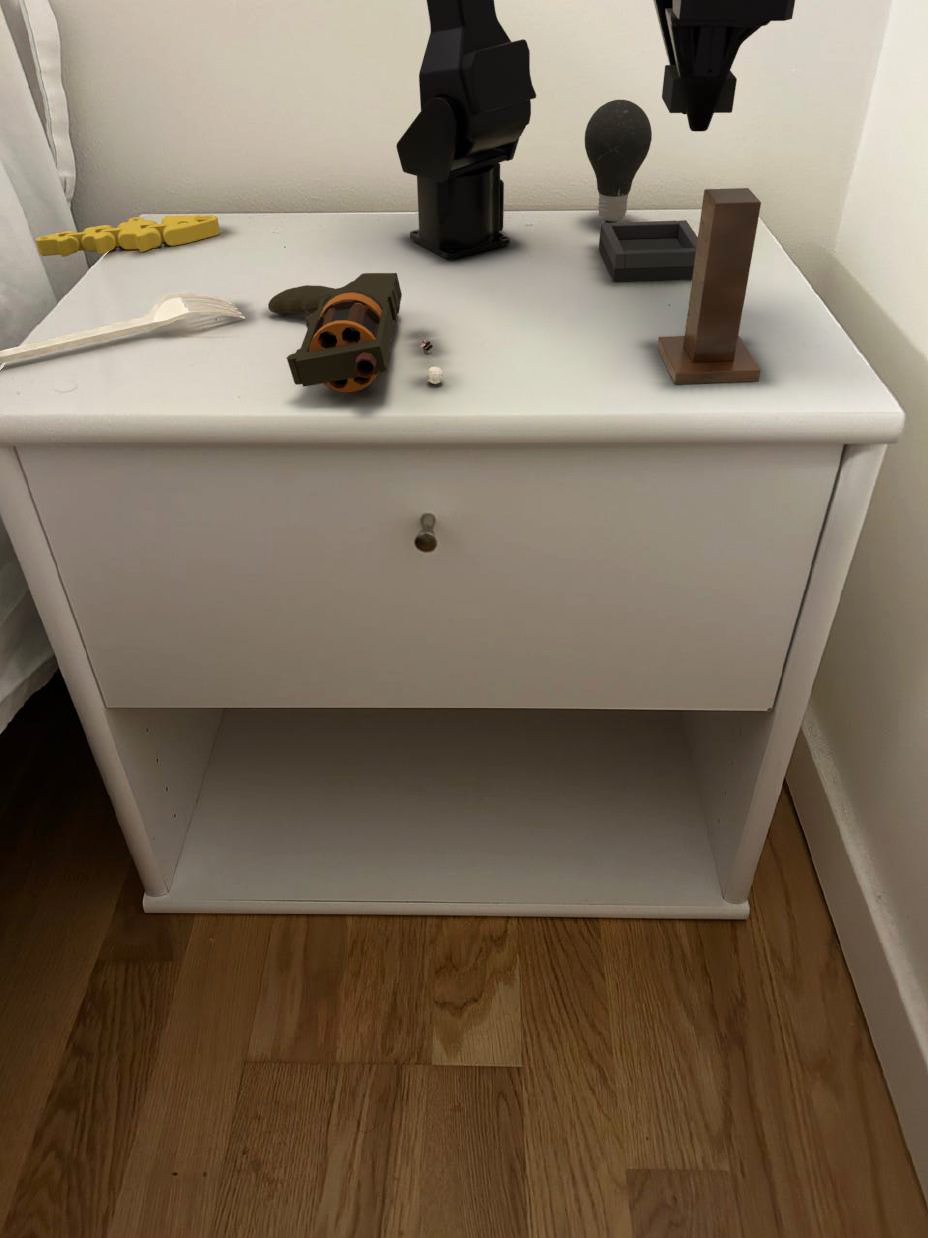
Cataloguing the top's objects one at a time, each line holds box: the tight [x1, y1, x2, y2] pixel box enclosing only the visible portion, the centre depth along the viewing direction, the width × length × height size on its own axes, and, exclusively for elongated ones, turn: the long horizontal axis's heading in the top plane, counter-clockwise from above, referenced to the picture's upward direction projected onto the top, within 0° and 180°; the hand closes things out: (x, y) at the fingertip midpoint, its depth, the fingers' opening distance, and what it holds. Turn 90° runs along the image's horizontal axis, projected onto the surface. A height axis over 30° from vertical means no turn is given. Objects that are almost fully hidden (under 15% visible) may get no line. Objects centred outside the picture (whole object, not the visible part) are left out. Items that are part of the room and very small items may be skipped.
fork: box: [0, 291, 246, 364], centre depth 71 cm, size 3×20×2 cm, turn 120°
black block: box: [661, 64, 738, 114], centre depth 66 cm, size 4×4×2 cm
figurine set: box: [417, 333, 444, 385], centre depth 69 cm, size 1×8×1 cm
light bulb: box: [584, 99, 653, 223], centre depth 87 cm, size 6×6×10 cm
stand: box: [656, 187, 762, 385], centre depth 65 cm, size 6×6×11 cm
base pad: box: [598, 219, 698, 283], centre depth 82 cm, size 7×7×2 cm
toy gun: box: [267, 272, 403, 393], centre depth 69 cm, size 5×17×10 cm
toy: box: [35, 214, 221, 258], centre depth 87 cm, size 15×1×5 cm
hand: (693, 121), depth 67 cm, fingers closed on black block, 4 cm apart
